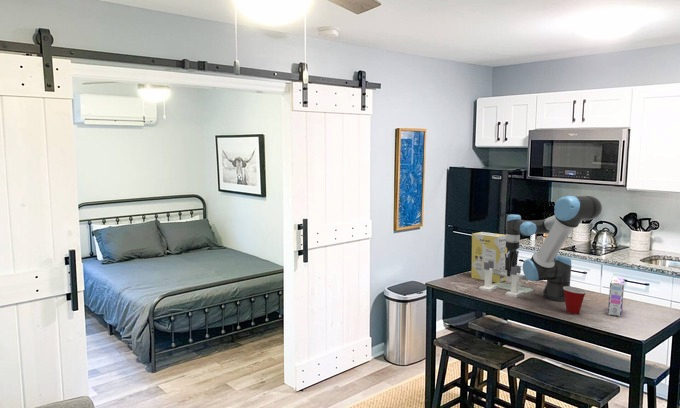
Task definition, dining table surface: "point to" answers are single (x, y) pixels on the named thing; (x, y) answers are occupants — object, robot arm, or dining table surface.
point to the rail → (504, 273)
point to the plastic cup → (573, 299)
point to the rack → (490, 287)
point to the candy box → (616, 296)
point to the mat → (508, 287)
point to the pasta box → (488, 254)
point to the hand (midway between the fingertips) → (510, 280)
